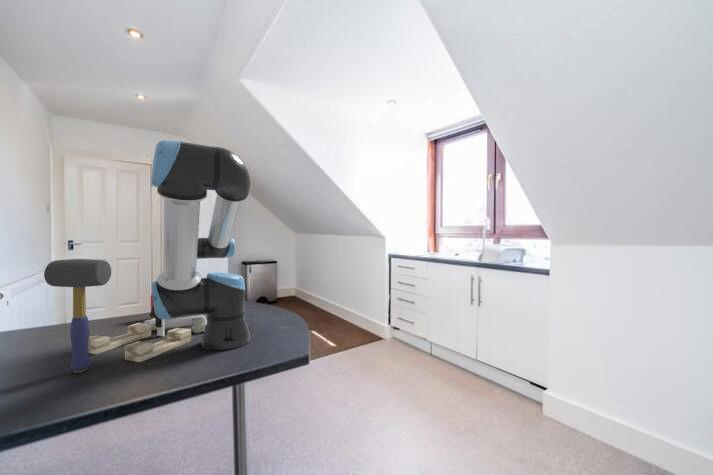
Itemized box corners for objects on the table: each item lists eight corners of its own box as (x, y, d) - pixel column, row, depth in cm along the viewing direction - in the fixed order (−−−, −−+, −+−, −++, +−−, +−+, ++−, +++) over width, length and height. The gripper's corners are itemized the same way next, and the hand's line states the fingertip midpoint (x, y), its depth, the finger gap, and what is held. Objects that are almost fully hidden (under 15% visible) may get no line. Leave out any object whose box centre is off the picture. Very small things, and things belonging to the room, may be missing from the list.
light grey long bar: (149, 318, 121) (210, 310, 119) (151, 335, 121) (213, 328, 119) (139, 321, 115) (203, 314, 113) (141, 339, 116) (205, 332, 114)
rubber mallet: (42, 379, 79) (40, 260, 78) (65, 366, 86) (64, 257, 85) (96, 376, 80) (95, 260, 80) (114, 364, 88) (113, 257, 87)
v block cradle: (191, 341, 106) (191, 329, 106) (140, 362, 89) (140, 348, 89) (138, 333, 113) (138, 322, 113) (82, 351, 96) (82, 339, 96)
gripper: (194, 268, 129) (194, 320, 130) (136, 277, 106) (137, 339, 106) (209, 269, 127) (209, 322, 128) (153, 278, 104) (154, 342, 104)
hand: (176, 330), depth 117 cm, fingers open, 12 cm apart
